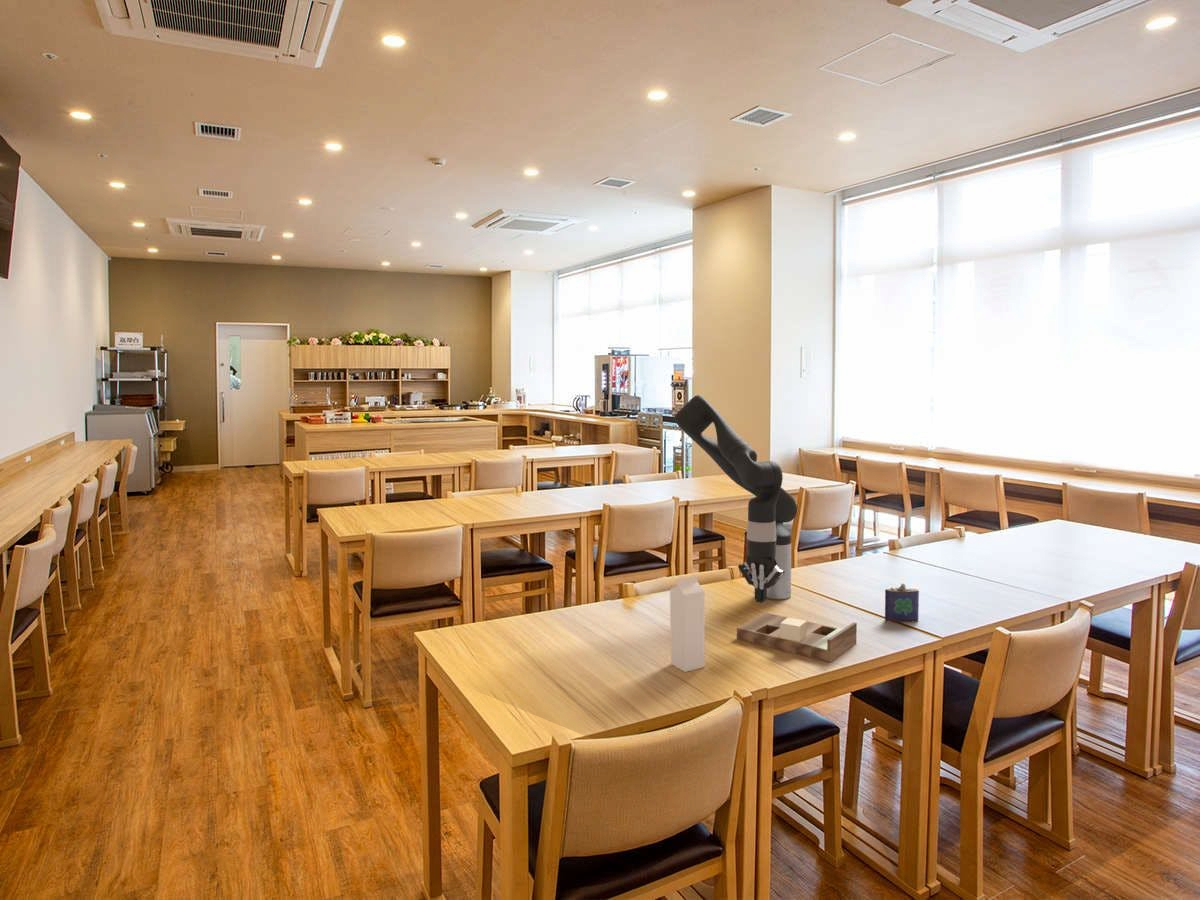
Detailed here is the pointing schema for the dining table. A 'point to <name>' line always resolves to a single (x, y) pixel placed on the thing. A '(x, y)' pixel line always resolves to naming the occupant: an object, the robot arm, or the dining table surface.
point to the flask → (901, 604)
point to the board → (816, 643)
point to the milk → (687, 624)
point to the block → (793, 629)
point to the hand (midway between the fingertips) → (760, 601)
